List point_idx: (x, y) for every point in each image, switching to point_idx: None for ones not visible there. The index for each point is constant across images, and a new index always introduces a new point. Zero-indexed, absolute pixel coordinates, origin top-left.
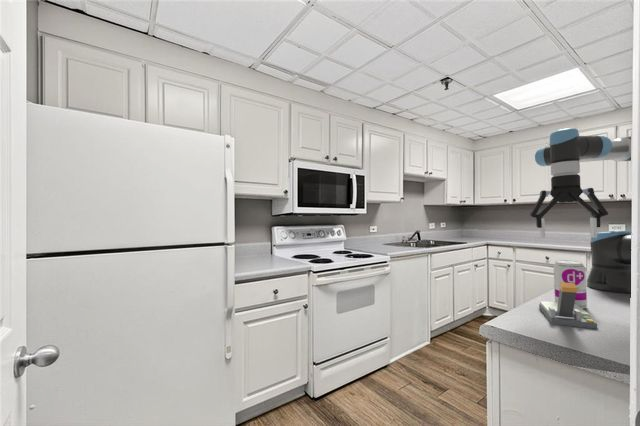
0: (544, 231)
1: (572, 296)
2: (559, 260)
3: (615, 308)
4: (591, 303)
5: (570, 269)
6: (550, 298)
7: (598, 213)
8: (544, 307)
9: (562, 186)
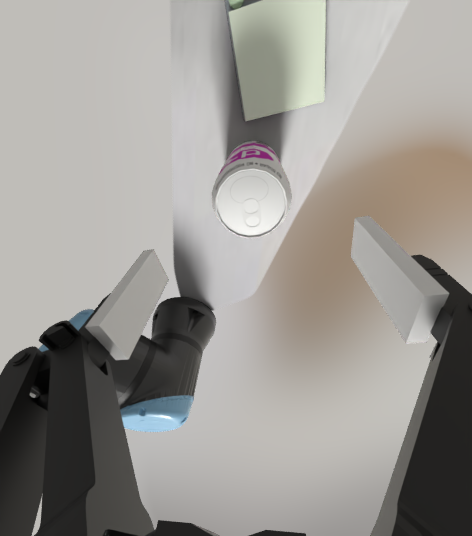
0: (372, 235)
1: None
2: (271, 230)
3: (183, 194)
4: None
5: (251, 157)
6: None
7: (53, 358)
8: (324, 39)
9: None
